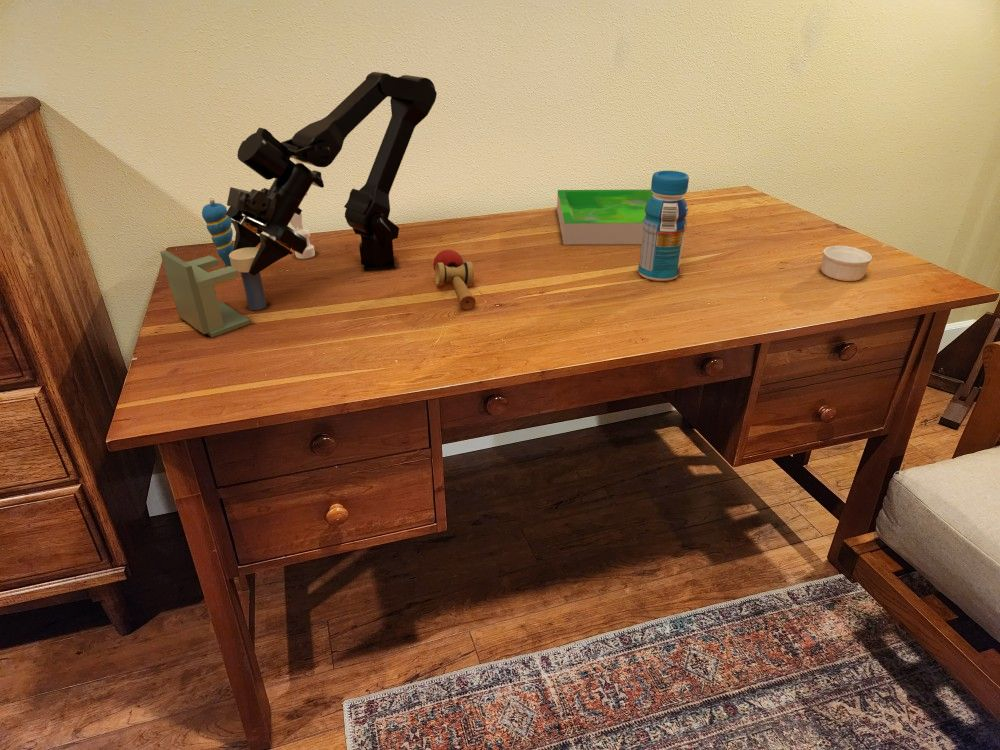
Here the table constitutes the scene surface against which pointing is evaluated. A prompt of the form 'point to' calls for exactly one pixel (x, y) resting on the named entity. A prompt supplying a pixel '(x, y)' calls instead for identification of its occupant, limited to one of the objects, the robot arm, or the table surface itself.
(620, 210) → the tray
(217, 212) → the ornament
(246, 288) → the peg
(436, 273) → the kendama
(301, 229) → the decorative finial
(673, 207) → the beverage bottle
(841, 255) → the ramekin
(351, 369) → the table surface
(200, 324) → the stand
